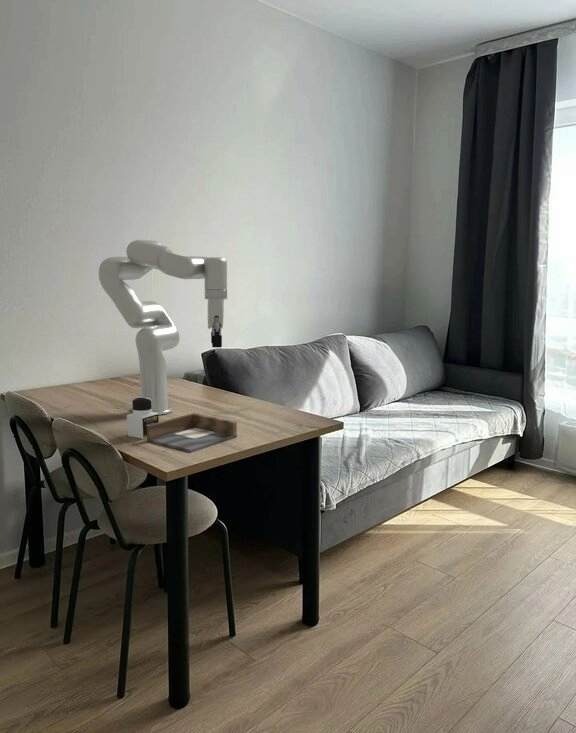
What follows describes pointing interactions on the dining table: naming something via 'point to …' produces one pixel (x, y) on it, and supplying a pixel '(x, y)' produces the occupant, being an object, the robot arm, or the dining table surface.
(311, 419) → the dining table surface
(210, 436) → the tray
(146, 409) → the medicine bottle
